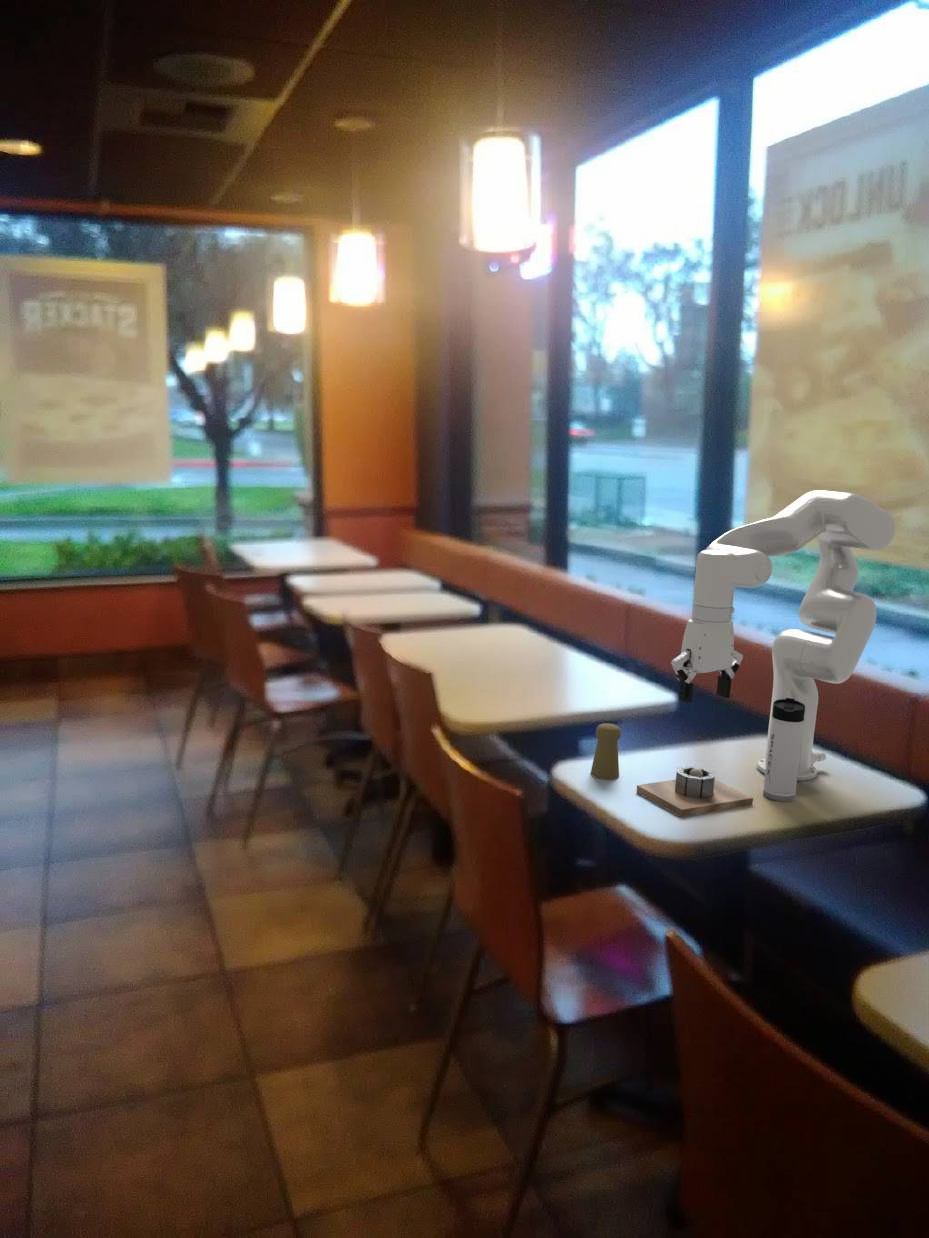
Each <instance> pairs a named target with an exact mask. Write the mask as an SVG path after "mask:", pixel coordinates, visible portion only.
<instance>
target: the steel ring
mask: <svg viewBox="0 0 929 1238" xmlns="http://www.w3.org/2000/svg"><path fill="white" fill-rule="evenodd" d="M694 768H698V769H700V770H701V771H702V773H703V777H695V776H689V775H690V771H691V770H692V769H694ZM675 775H676V776H675V780H676V783H675V792H677V793H679V794H681V795H683V796H686V797H691V798H698V799H700V798H701V799H703V798H709V797H713V791H714V782H715V780H716V772H714V771H713V770H710V769H708V768H704V767H701V766H695V765H694V766H692V765H686V766H682V767H677V770H676V774H675Z"/></svg>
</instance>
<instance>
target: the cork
mask: <svg viewBox="0 0 929 1238" xmlns="http://www.w3.org/2000/svg"><path fill="white" fill-rule="evenodd" d="M621 734H622V732H621V729H620V726H618V725H617V724H613V723H606V722H605V723H600V724H599V725H598V726H596V729H595V736H596V738H597V743H596V747H595V751H594V755H593V756H594V757H593V760H592V761H593V762H592V765H591V770H590V775H591V774H592V775H593V776H595V777H594V778H595V779H599V780H607V781H608V780H609V781H611V780H616V779H619V778H620V765H619V750H618V749H619V748H618V747H619V746H618V743H619V742H618V741H619V739H620V738H621ZM592 775H591V776H592ZM593 776H592V777H593Z"/></svg>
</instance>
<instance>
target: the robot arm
mask: <svg viewBox="0 0 929 1238" xmlns="http://www.w3.org/2000/svg"><path fill="white" fill-rule="evenodd" d="M895 536H896V523H895V519H894V517H893V515H892V514H890V511H889V512H888V511H887V510H885V509H884V508H883V507H880V506H879V505H877V503H876V504H875V503H874V502H873V501H870V500H869V499H868V498H865V497H863V496H861V495H858V494H856V493H852V492H843V491H833V490H832V491H831V490H824V489H821V490H820V489H817V490H811V491H809V492H807V493H805V494H803V495H801V496H800V497H799V498H798V499H796V500H795V501H793V502H792V503H791V504H789V505H788V506H786V507H785V508H783V509H782V510H780V511H779V512H778V513H777V514H775V515H774V516H772V517H770V518H766V519H761V520H758V521H755V522H753V523H749V524H745V525H742V526H739V527H736V528H734V529H731V530H729V531H727V532H725V533H724V534H722V535H721V536H719V537H718V538H716V539H715V540H714V541H712V542H711V544H709V545H708V546H707V547H706V548H705V549H704V550H701V551H700V552H699V553H698V555H697V557H696V561H695V562H696V564H695V574H694V576H695V577H694V588H693V589H694V590H693V599H692V608H691V609H692V610H691V611H692V612H691V619H688V620H687V624H686V626H685V630H684V634H683V638H682V642H681V643H682V645H681V651H680V654H679V655H678V656H676V657H675V658H673V659H671V663H670V664H671V666H672V669H673V674H674V675H675V676H676V679H677V680H678V681H679V688H678V689H679V690H678V700H679V701H681V702H682V701H683V702H684V703H687V704H690V703H692V702H693V694H694V693H693V691H694V683H693V682H692V681H693V679H694V678H695V677H696V675H697V674H705V673H706V674H707V673H714V672H719V673H720V675H718V676H717V684H716V695H717V696H720V697H721V698H725V699H730V697H731V689H732V688H731V687H732V679H734V678H735V674H736V673H737V671H738V670H739V668H740V665H741V662H742V661H743V659H744V655H743V654H742V653H740V652H738V651H737V650H735V631H734V630H735V629H734V623H733V621H732V617H733V616H732V615H733V614H734V613H735V608H734V607H733V605H734V597H735V595H734V594H735V589H736V588H737V587H738V588H748V589H755V588H759V587H762V586H763V585H764V584H766V583H767V582H768V581H769V579H770V578H771V576H772V574H773V562H772V560H771V559H770V557H777V556H778V557H779V556H785V555H791V554H794V553H796V552H798V551H799V550H801V549H802V548H804V546H806V545H807V544H809V543H810V542H812V540H814V539H815V538H816V540H817V543H818V549H819V550H818V551H819V562H818V563H819V564H818V566H817V570H815V573H814V576H813V578H812V580H811V582H810V584H809V586H808V589H807V590H806V592H805V594H804V596H803V599H802V601H801V603H800V606H799V609H798V619H799V621H800V622H801V624H803V625H804V626H806V627H807V628H811V629H814V630H817V631H821V632H826V633H830V634H835V635H834V636H830V635H826V634H822V633H819V632H814V631H809V630H804V629H798V628H791V629H786V630H783V631H782V632H780V633H779V634H778V635H777V636H776V637H775V639H774V641H773V643H772V651H771V656H772V657H771V658H772V667H773V668H772V669H773V670H772V671H773V681H772V682H773V684H772V693H771V694H772V695H771V703H770V714H769V720H768V721H769V722H768V730H767V740H766V749H765V757H762V758H761V759H759V760H757V762H756V768H757V770H759V772H761V773H763V774H764V775H765V771H766V762H767V753H768V744H769V735H770V726H771V719H772V713H773V703H774V701H776V700H779V699H786V698H793V699H794V700H795V701H799V702H801V703H803V704H804V705H805V714H804V725H803V734H802V742H801V751H800V759H799V767H798V776H797V782H798V781H800V782H801V781H809V780H813V779H815V778H816V777H817V775H818V769H817V768H816V767H814V764H815V763H816V762H823V761H826V760H827V755H826V753H825V752H823V751H820V752H814V751H813V745H814V737H815V736H814V735H815V729H816V723H817V722H816V721H817V713H818V712H817V711H818V704H819V691H818V688H817V684H816V682H815V680H818V681H821V682H826V683H828V684H829V683H830V684H842V683H844V682H846V681H847V680H848V679H849V678H850V677H851V676H852V674H853V673H854V671H855V669H856V667H857V665H858V663H859V661H860V658H861V657H862V654H863V653H864V650H865V648H866V646H867V643H868V642H869V640H870V637H871V635H872V633H873V630H874V628H875V625H876V621H877V614H878V613H877V607H876V603H875V602H874V600H873V599H872V598H871V597H870V596H869V595H866V594H864V593H861V592H856V591H854V589H855V585H856V583H857V581H858V579H859V572H860V571H859V567H858V563H857V561H856V558H855V557H854V554H853V551H852V549H851V548H855V549H861V550H868V551H881V550H884V549H887V547H889V546H890V545H891V543H892V542H893V541H894V539H895Z"/></svg>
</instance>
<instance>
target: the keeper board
mask: <svg viewBox="0 0 929 1238" xmlns="http://www.w3.org/2000/svg"><path fill="white" fill-rule="evenodd" d="M689 776H695V777H703V773H702V771H701V770H700V769H698V768H694V769H692V770H691V771H690V775H689ZM675 783H676V779H670V780H663V781H658V782H657V781H656V782H649V783H648V782H647V783H643V784H636V793H637V794H639V795H640V796H643V797H644V798H646V799H648V800H650V801H651V802H653V803H655V804H657V805H659V806H661V807H663V808H664V809H666V810H668V811H669V812H671V813H673V814H675V815H676V816H678V817H680V818H682V817H683V818H684V817H689V816H690V817H691V816H696V815H702V814H707V813H713V812H718V811H725V810H732V809H737V808H742V807H749V806H753V803H754V797H752V796H750V795H748V794H746V793H743V792H742V791H740V790H738V789H736V788H734V787H732V786H730V785H727V784H726V783H723V782H721V781H720V780H717V779H715V782H714V791H713V797H709V798H703V799H701V798H700V799H698V798H691V797H686V796H683V795H681V794H679V793H677V792H675Z"/></svg>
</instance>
